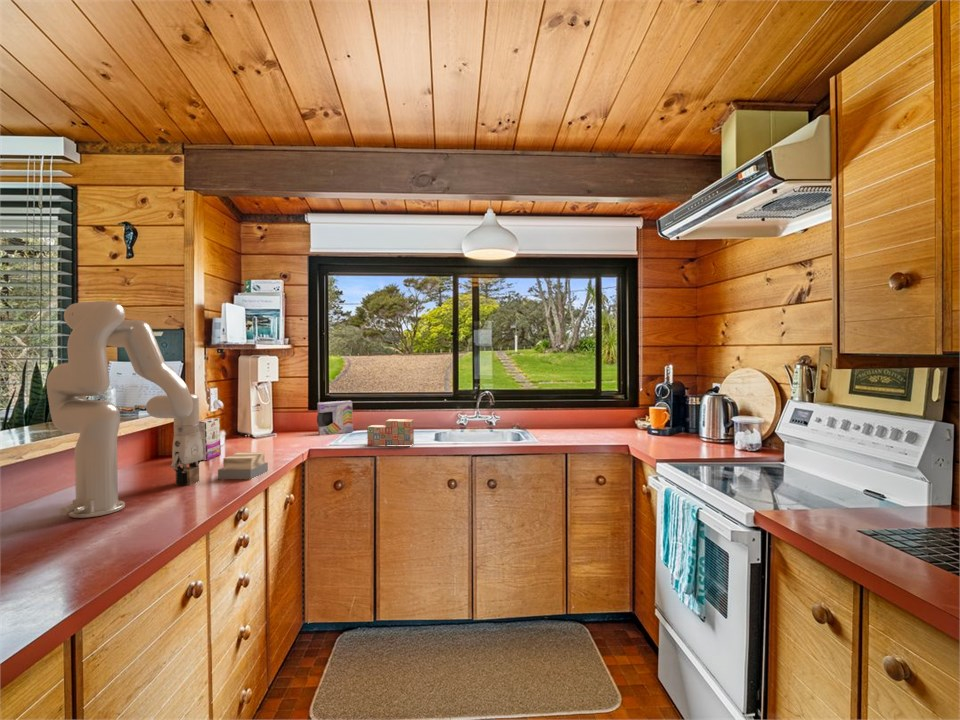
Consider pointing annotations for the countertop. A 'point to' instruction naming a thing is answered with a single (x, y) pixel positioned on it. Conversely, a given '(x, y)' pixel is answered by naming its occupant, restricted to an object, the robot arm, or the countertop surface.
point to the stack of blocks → (392, 433)
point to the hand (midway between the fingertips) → (187, 481)
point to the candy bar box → (210, 437)
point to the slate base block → (242, 473)
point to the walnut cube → (191, 475)
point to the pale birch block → (243, 461)
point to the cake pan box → (335, 417)
